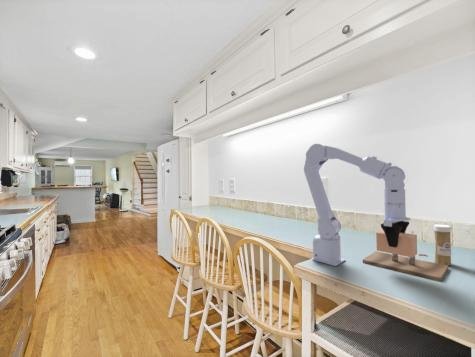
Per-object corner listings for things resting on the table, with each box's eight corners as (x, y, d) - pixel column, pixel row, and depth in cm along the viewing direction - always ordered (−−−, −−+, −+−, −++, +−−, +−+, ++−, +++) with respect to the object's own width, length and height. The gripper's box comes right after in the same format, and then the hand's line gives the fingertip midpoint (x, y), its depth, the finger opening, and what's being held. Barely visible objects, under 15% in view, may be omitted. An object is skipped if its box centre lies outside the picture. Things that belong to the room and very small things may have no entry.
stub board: (362, 262, 87) (362, 251, 87) (375, 253, 96) (375, 243, 96) (440, 281, 71) (440, 267, 71) (448, 268, 79) (448, 256, 79)
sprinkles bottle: (444, 266, 81) (443, 227, 81) (431, 261, 85) (430, 224, 85) (455, 265, 82) (454, 226, 82) (441, 260, 86) (440, 223, 86)
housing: (376, 250, 80) (376, 232, 80) (382, 247, 83) (381, 229, 83) (412, 257, 72) (412, 238, 72) (417, 253, 76) (416, 234, 75)
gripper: (402, 206, 70) (403, 252, 70) (415, 201, 79) (416, 242, 79) (375, 205, 75) (377, 247, 75) (391, 200, 85) (392, 238, 85)
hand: (395, 244), depth 78 cm, fingers closed on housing, 5 cm apart
